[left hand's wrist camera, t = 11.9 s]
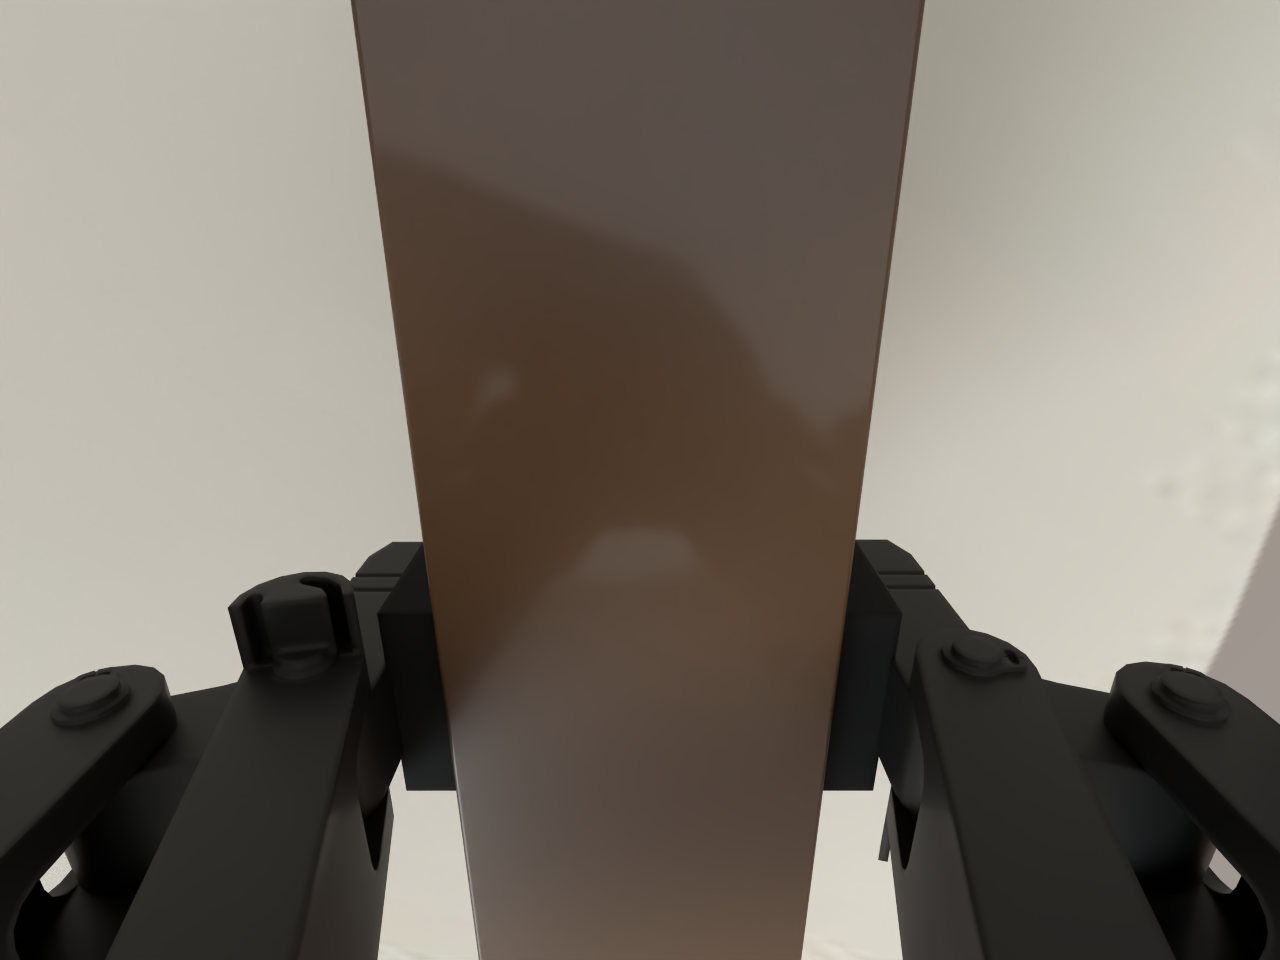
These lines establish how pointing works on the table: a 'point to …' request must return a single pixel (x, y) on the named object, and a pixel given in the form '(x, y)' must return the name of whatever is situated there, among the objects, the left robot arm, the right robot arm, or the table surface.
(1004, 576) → the table surface
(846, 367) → the beam
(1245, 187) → the table surface
